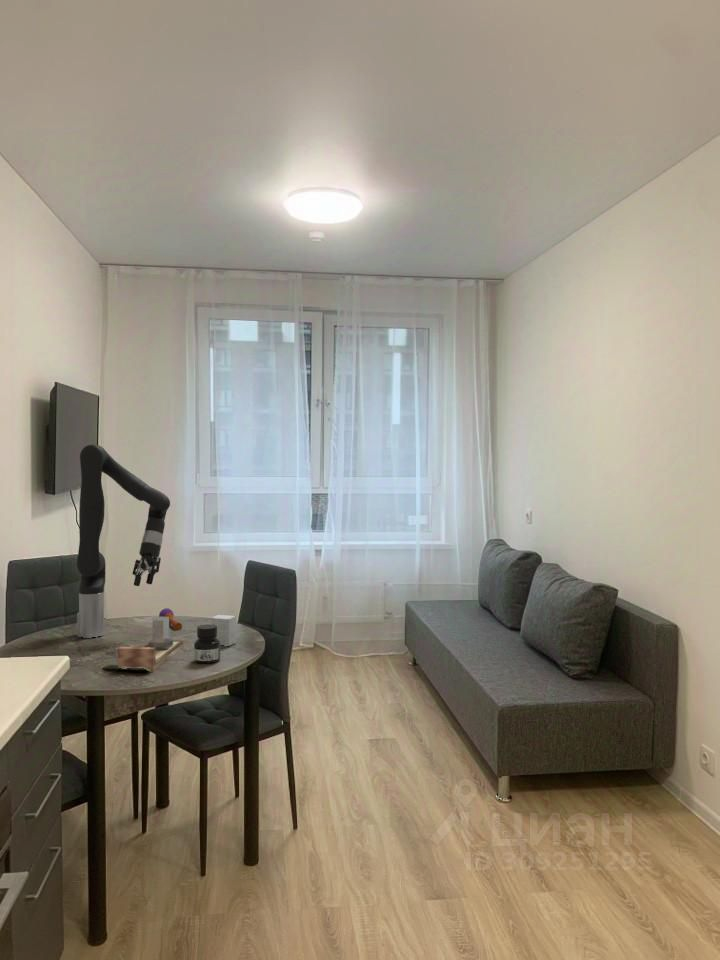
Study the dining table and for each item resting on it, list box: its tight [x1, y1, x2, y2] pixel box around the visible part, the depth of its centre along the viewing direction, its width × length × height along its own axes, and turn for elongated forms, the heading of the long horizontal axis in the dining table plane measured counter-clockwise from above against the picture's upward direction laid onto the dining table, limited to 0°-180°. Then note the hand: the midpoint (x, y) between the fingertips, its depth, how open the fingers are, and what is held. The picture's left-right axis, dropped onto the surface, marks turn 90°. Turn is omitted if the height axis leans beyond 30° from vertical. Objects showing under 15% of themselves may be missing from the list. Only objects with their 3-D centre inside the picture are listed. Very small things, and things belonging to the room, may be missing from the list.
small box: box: [210, 614, 237, 647], centre depth 271 cm, size 8×6×10 cm
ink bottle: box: [193, 623, 221, 665], centre depth 249 cm, size 10×9×12 cm
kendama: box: [158, 607, 183, 631], centre depth 302 cm, size 6×6×20 cm
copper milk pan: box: [117, 640, 185, 673], centre depth 253 cm, size 12×32×8 cm, turn 176°
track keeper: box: [148, 616, 174, 649], centre depth 261 cm, size 7×6×10 cm
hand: (142, 584), depth 274 cm, fingers open, 8 cm apart
